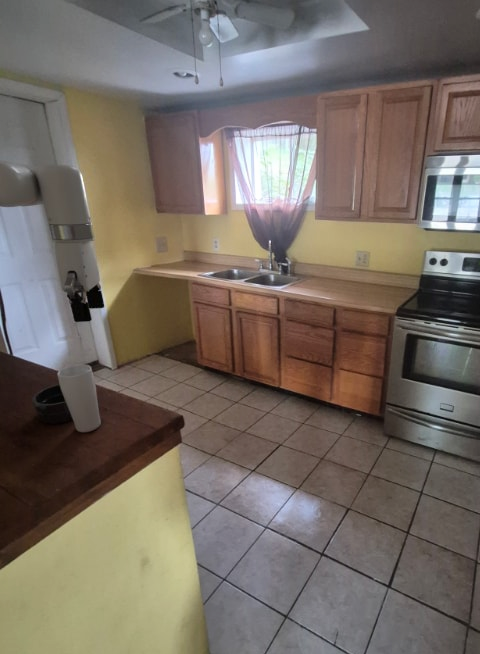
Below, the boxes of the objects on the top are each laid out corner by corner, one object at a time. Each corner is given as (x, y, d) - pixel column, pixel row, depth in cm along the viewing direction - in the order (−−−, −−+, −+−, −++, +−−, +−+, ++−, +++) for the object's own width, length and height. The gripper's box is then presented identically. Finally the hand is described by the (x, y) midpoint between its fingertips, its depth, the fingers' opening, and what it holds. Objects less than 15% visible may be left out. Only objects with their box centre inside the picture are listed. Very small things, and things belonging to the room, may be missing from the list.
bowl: (30, 427, 88) (23, 407, 86) (49, 402, 98) (44, 384, 96) (81, 422, 90) (76, 402, 88) (95, 399, 100) (91, 381, 98)
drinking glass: (75, 422, 90) (60, 366, 84) (106, 416, 92) (93, 362, 86) (70, 438, 84) (53, 379, 78) (103, 431, 86) (89, 374, 80)
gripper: (67, 229, 82) (84, 304, 89) (32, 238, 66) (56, 328, 73) (104, 229, 83) (118, 303, 90) (78, 237, 68) (97, 326, 74)
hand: (90, 314), depth 81 cm, fingers open, 9 cm apart
